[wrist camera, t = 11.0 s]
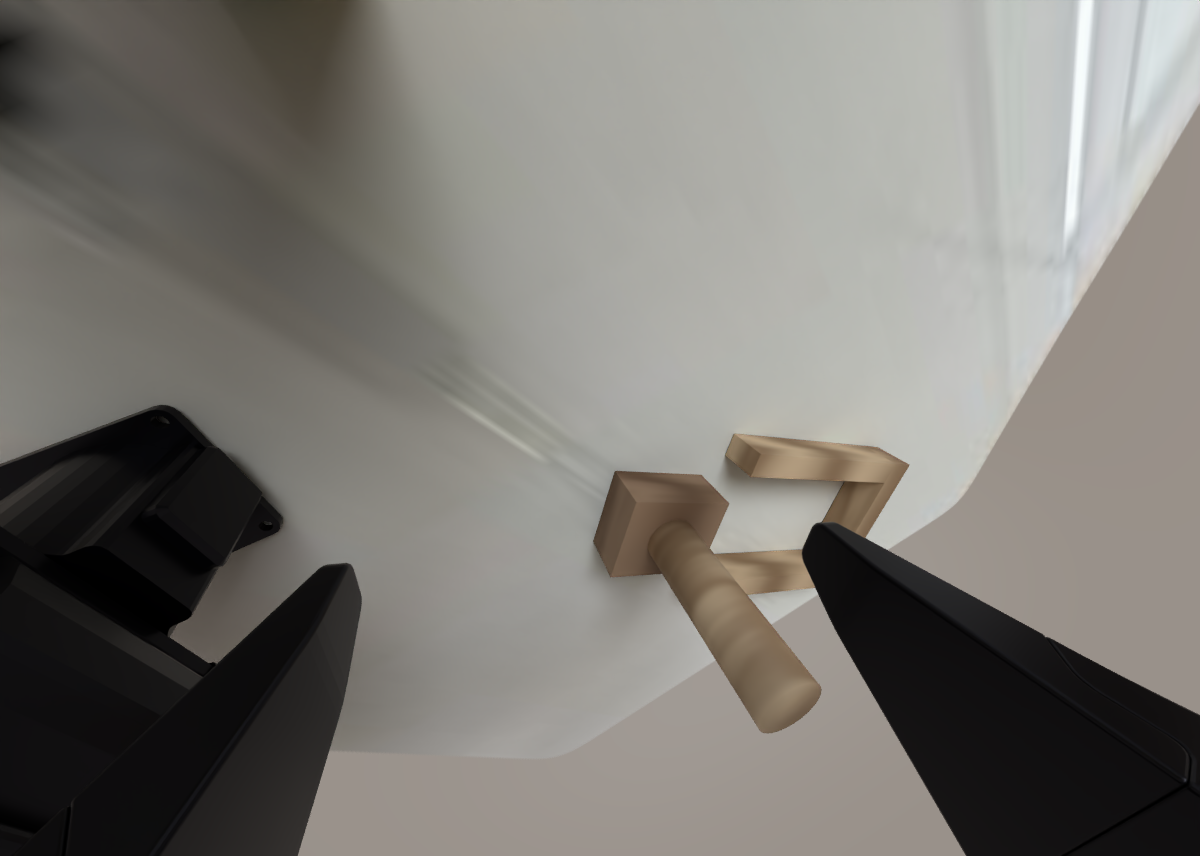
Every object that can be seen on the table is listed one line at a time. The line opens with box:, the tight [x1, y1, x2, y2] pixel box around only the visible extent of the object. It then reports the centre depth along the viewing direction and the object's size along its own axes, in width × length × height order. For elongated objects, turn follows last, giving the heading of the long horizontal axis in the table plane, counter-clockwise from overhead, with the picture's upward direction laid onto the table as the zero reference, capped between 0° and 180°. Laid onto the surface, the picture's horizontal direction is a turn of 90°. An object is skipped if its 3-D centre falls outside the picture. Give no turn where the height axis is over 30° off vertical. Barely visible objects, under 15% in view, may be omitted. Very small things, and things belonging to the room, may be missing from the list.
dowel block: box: [593, 471, 821, 733], centre depth 21 cm, size 6×5×12 cm
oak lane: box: [715, 434, 909, 595], centre depth 30 cm, size 14×11×2 cm
